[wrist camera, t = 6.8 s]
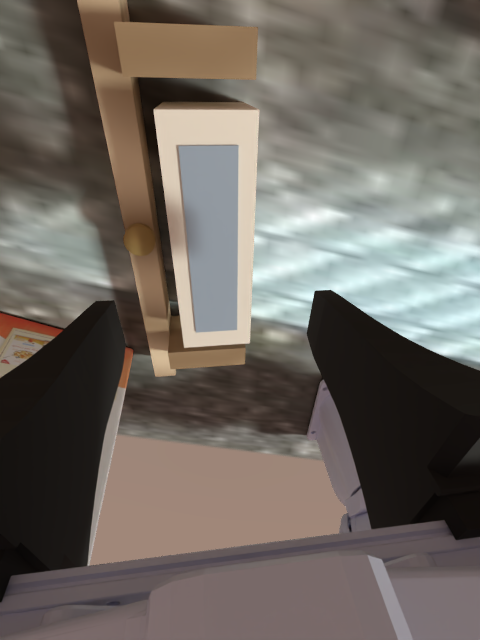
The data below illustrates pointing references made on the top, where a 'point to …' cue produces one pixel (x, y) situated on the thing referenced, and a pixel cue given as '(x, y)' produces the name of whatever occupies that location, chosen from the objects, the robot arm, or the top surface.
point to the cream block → (210, 214)
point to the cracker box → (24, 341)
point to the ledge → (132, 152)
